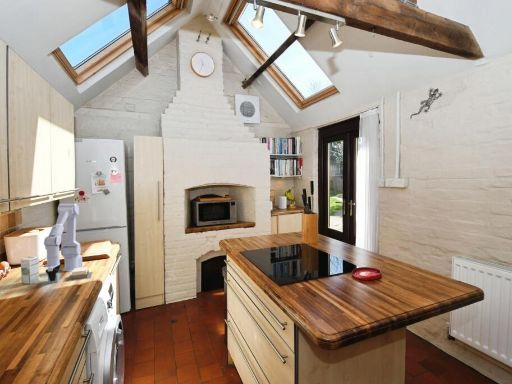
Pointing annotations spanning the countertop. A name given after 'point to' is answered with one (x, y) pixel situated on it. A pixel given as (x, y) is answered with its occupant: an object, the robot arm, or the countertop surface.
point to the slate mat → (81, 278)
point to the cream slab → (79, 271)
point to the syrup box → (29, 270)
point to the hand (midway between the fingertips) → (53, 279)
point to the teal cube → (55, 279)
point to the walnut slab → (80, 276)
